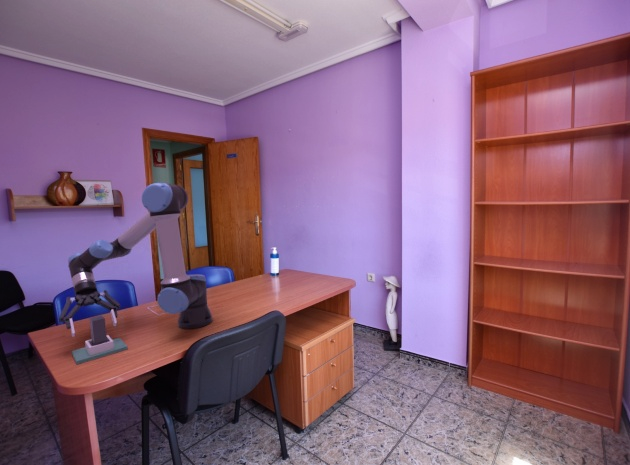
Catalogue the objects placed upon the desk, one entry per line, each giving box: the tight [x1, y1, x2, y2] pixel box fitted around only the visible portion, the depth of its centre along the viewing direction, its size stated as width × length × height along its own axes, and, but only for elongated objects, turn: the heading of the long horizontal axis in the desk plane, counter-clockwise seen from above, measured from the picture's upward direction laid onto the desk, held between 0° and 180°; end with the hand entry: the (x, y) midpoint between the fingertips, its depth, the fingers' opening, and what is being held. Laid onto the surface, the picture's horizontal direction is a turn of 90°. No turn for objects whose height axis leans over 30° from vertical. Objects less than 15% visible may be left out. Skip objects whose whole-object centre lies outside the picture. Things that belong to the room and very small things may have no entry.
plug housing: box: [89, 314, 107, 346], centre depth 121 cm, size 4×5×12 cm
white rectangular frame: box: [147, 304, 165, 316], centre depth 172 cm, size 11×1×18 cm
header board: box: [71, 334, 129, 365], centre depth 121 cm, size 16×12×4 cm
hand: (95, 329), depth 123 cm, fingers open, 13 cm apart
